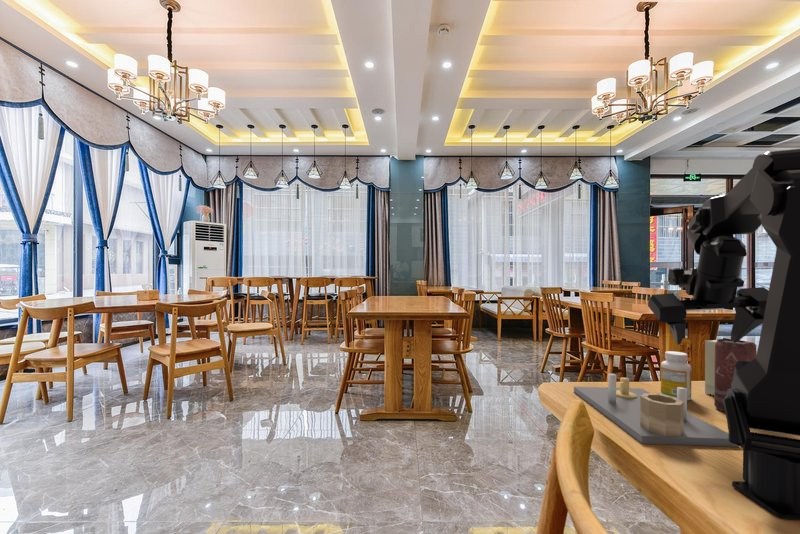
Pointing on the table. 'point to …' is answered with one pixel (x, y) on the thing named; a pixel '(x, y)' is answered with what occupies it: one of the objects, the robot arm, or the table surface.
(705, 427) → the slate board
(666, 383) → the supplement bottle
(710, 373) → the skincare box
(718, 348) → the can
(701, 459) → the table surface
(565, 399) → the table surface
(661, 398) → the napkin ring
